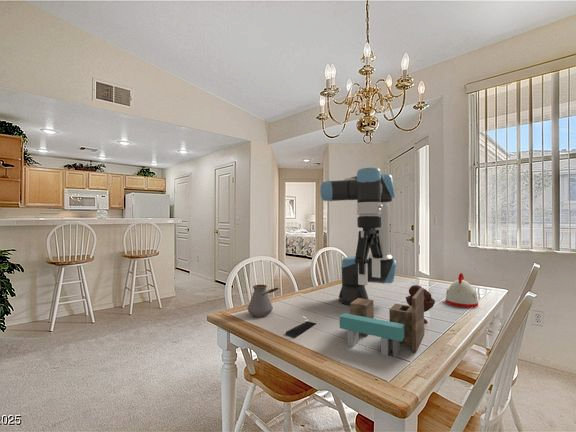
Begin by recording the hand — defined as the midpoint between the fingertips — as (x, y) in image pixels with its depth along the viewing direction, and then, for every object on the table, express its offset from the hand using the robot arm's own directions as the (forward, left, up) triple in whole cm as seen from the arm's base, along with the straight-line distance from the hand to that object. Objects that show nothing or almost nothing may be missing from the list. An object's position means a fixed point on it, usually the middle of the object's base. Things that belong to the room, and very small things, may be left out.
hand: (369, 280), depth 94 cm
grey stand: (0, 0, -23) cm, 23 cm away
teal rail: (0, 0, -22) cm, 22 cm away
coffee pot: (-49, +7, -23) cm, 55 cm away
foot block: (-7, +12, -23) cm, 27 cm away
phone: (-27, +3, -24) cm, 36 cm away
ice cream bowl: (+9, +37, -23) cm, 45 cm away
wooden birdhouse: (+8, +12, -23) cm, 27 cm away
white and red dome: (+22, +75, -23) cm, 82 cm away
